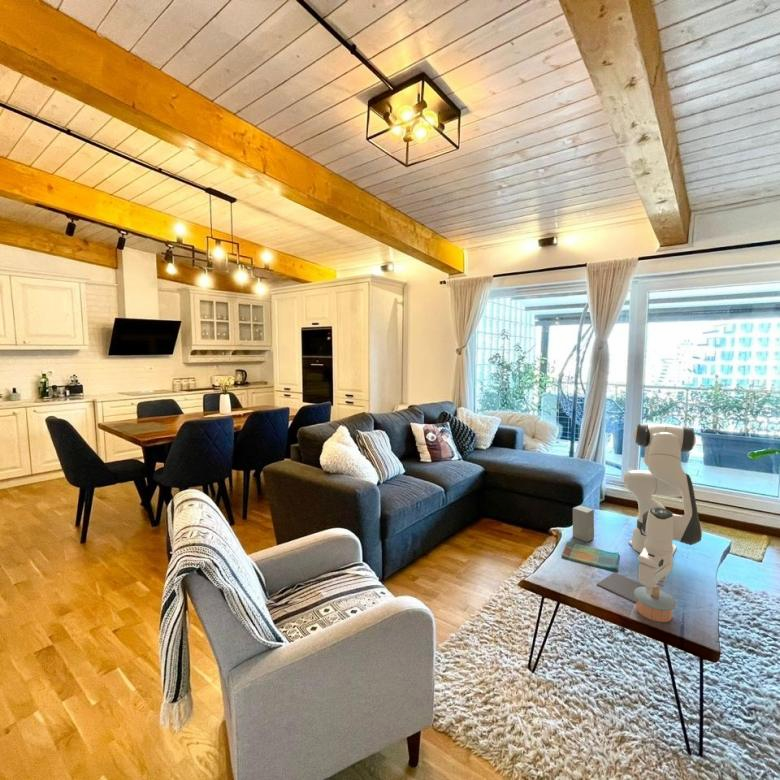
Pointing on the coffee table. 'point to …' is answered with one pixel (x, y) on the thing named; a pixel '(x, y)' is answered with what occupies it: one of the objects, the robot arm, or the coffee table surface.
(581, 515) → the skincare box
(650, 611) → the bowl
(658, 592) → the lid
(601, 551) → the dish towel
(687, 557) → the coffee table surface
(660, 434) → the robot arm
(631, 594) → the mat
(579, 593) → the coffee table surface
